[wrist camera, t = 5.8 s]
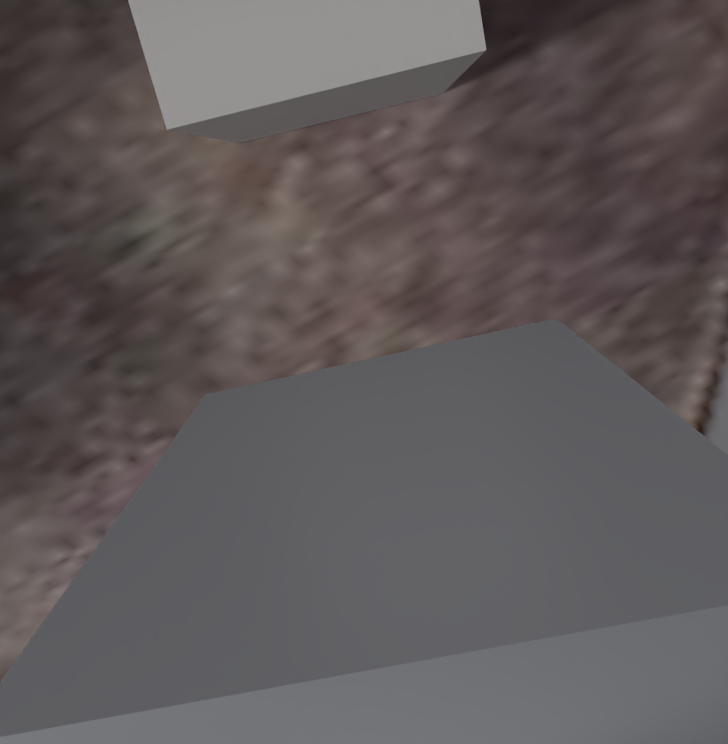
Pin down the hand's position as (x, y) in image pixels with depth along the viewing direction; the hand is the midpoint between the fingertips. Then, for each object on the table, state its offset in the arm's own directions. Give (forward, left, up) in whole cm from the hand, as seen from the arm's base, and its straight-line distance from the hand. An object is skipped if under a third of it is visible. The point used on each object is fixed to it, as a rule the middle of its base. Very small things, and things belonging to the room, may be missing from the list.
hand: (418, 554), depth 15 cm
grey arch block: (0, 0, -2) cm, 2 cm away
